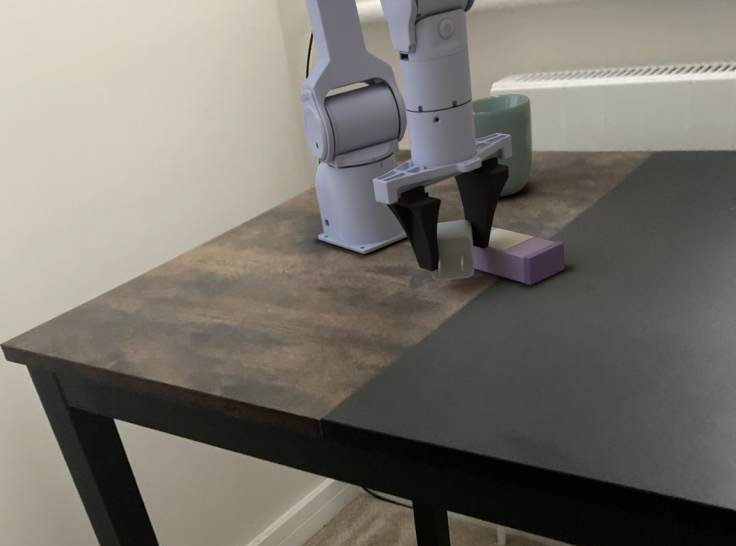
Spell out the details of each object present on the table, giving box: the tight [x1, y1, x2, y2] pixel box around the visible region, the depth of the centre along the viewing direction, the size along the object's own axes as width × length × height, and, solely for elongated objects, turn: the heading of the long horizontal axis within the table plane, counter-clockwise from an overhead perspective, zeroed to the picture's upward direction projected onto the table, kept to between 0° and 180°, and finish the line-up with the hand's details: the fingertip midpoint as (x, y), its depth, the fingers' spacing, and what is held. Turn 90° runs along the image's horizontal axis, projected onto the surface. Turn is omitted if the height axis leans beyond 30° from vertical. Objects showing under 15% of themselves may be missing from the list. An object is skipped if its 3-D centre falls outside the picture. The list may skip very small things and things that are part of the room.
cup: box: [472, 93, 533, 198], centre depth 104 cm, size 8×8×10 cm
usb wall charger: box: [430, 219, 475, 282], centre depth 83 cm, size 4×7×4 cm, turn 174°
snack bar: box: [473, 226, 566, 286], centre depth 87 cm, size 12×4×3 cm, turn 36°
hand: (453, 257), depth 84 cm, fingers closed on usb wall charger, 6 cm apart
